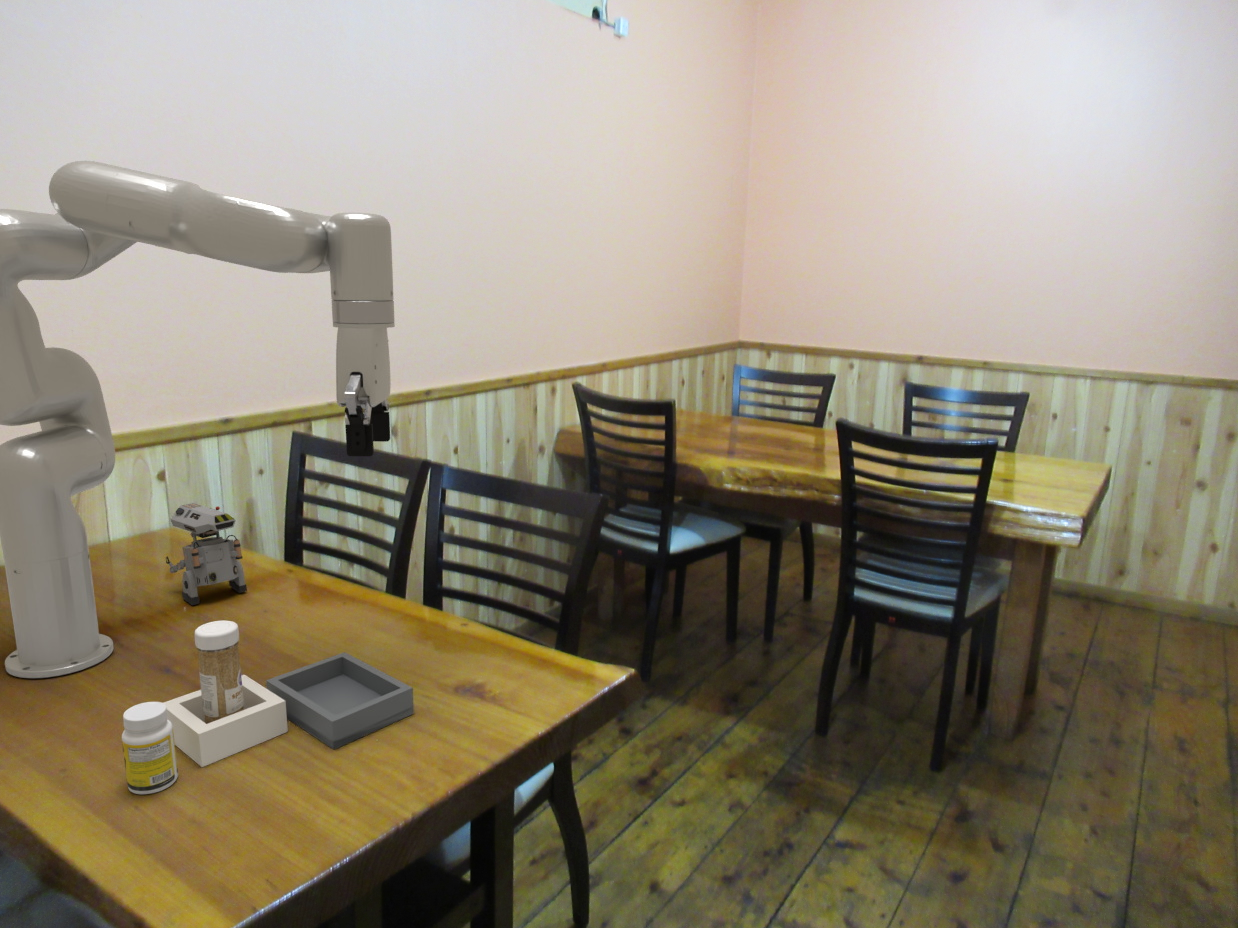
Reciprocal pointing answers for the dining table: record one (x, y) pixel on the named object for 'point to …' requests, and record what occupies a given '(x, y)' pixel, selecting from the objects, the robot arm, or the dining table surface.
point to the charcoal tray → (342, 699)
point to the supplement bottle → (149, 748)
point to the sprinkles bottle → (219, 669)
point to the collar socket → (226, 724)
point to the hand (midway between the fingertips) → (369, 448)
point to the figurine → (207, 551)
